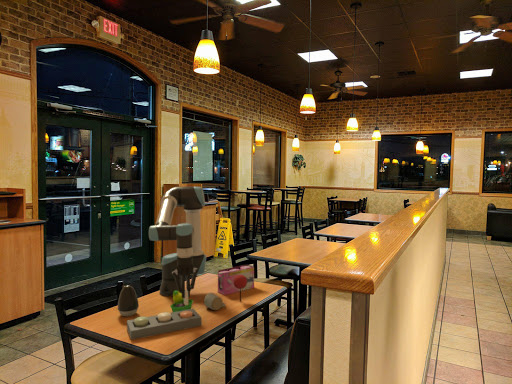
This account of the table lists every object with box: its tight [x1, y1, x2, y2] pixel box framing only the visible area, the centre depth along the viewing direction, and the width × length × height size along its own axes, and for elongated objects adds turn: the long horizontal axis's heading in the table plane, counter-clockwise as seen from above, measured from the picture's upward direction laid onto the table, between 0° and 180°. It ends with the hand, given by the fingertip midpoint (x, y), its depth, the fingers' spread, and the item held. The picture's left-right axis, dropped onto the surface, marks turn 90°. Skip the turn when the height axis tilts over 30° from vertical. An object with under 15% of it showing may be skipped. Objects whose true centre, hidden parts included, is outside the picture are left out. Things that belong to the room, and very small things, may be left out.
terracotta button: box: [180, 311, 193, 319], centre depth 177 cm, size 6×6×2 cm
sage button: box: [134, 316, 149, 327], centre depth 167 cm, size 6×6×2 cm
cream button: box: [157, 311, 172, 322], centre depth 172 cm, size 6×6×2 cm
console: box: [126, 308, 202, 341], centre depth 172 cm, size 13×32×4 cm, turn 117°
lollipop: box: [233, 275, 247, 302], centre depth 206 cm, size 8×8×15 cm
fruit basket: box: [170, 291, 194, 313], centre depth 191 cm, size 11×9×11 cm
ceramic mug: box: [203, 292, 226, 311], centre depth 197 cm, size 11×8×8 cm
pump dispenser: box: [117, 284, 139, 317], centre depth 189 cm, size 10×10×15 cm
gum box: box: [217, 264, 255, 296], centre depth 226 cm, size 24×8×14 cm, turn 128°
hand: (186, 304), depth 177 cm, fingers closed
